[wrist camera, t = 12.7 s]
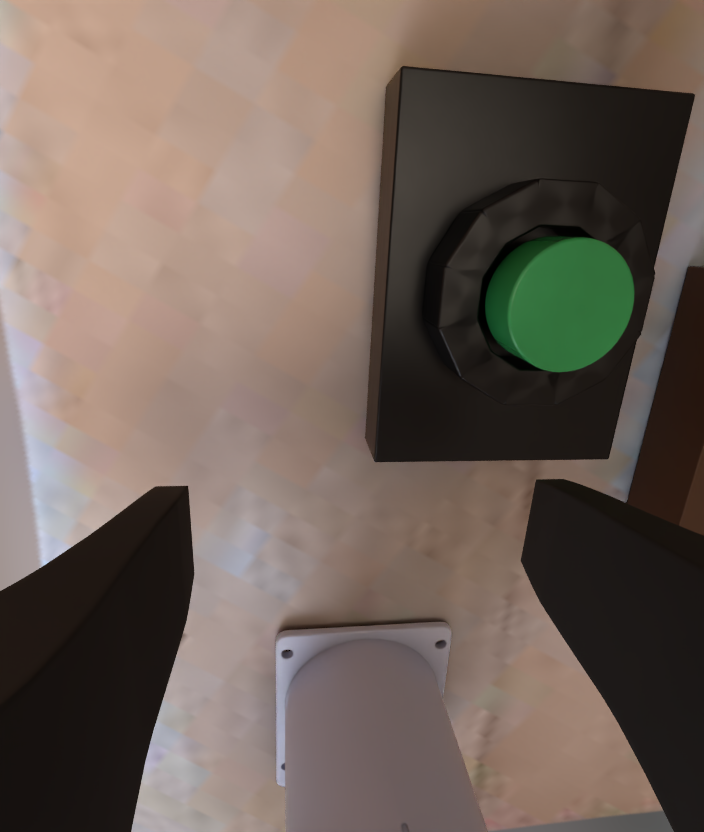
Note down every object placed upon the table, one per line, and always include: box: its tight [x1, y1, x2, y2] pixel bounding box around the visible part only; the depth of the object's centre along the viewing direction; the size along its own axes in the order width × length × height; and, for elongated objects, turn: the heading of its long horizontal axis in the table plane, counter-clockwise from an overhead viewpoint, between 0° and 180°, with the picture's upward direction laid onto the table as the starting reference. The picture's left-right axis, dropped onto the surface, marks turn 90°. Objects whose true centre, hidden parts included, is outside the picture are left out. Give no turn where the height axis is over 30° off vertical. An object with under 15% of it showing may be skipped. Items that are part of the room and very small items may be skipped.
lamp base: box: [365, 66, 695, 462], centre depth 17 cm, size 12×9×4 cm
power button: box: [485, 236, 634, 372], centre depth 15 cm, size 4×4×2 cm
